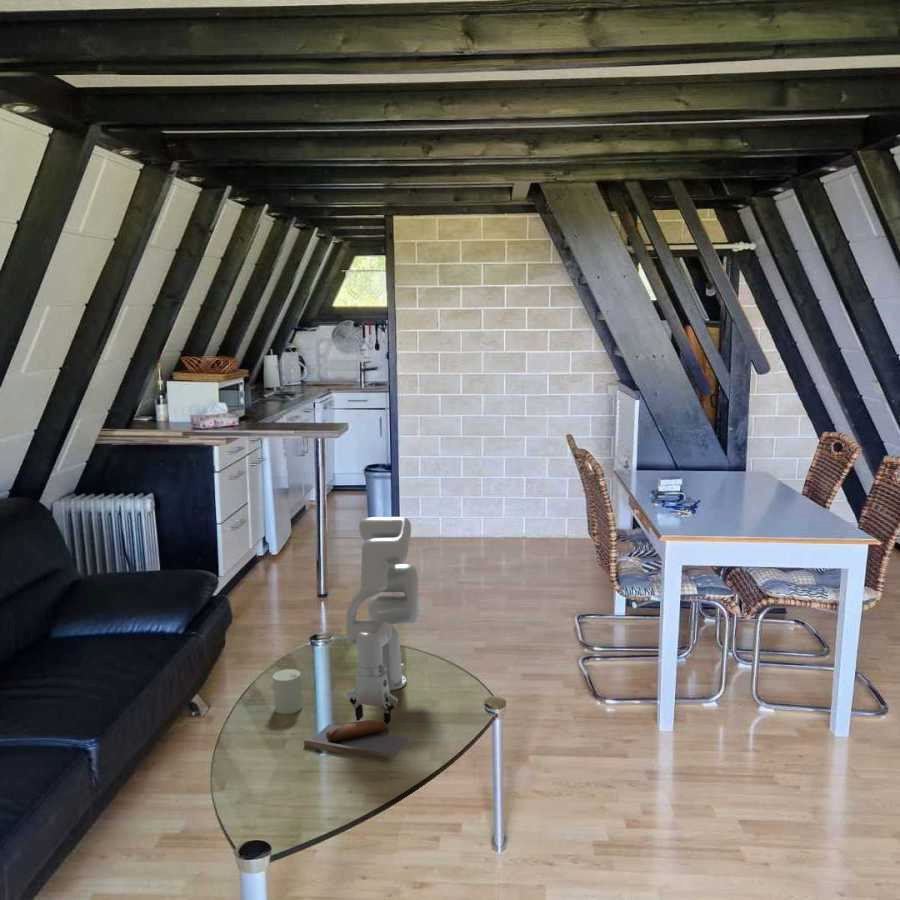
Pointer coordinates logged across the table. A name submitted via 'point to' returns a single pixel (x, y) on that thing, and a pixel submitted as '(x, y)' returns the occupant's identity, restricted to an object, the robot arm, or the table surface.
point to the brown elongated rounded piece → (356, 730)
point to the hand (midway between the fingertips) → (373, 721)
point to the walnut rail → (347, 750)
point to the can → (287, 691)
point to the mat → (368, 741)
